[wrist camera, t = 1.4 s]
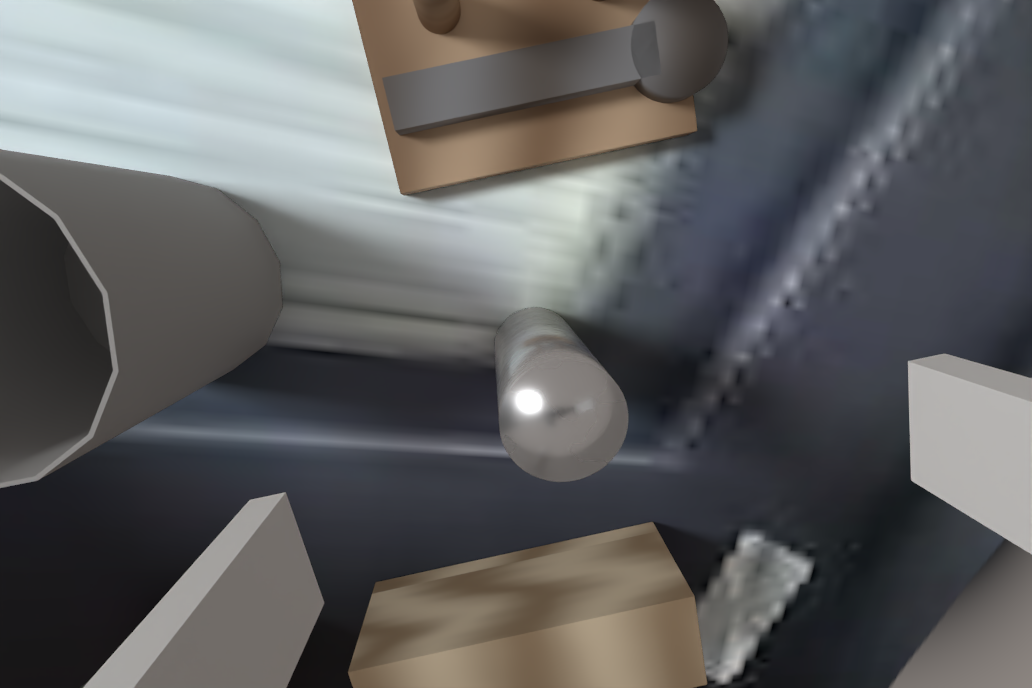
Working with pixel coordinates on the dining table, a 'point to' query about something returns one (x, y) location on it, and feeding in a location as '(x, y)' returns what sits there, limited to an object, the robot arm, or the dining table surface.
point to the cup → (117, 302)
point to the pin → (555, 399)
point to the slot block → (538, 620)
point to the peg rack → (532, 79)
